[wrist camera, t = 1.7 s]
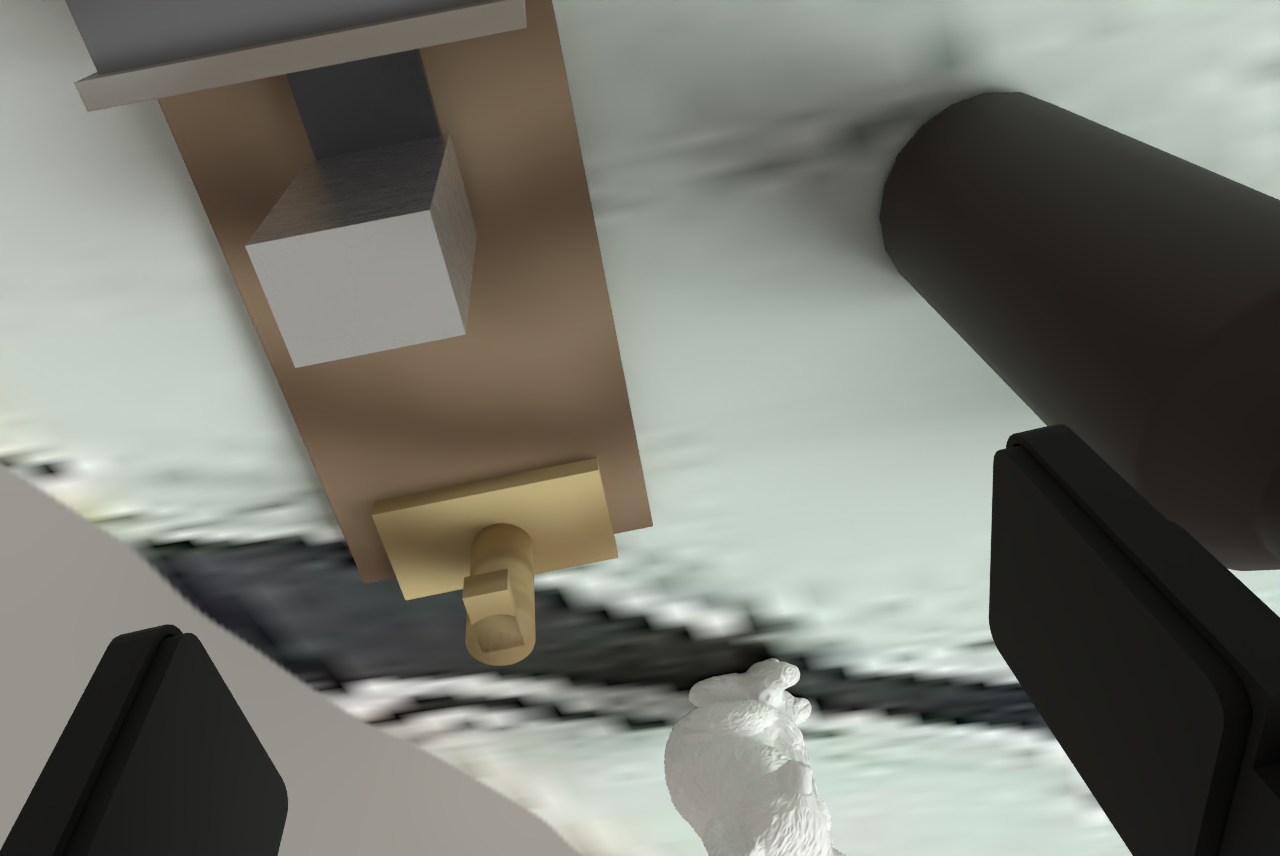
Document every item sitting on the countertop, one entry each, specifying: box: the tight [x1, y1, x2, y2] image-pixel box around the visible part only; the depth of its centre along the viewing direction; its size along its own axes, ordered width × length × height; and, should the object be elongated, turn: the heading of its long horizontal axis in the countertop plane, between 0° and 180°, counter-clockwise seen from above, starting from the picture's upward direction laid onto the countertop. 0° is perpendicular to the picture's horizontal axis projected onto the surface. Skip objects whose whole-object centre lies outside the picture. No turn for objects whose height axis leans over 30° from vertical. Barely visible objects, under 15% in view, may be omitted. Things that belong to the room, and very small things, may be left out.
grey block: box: [245, 48, 477, 368], centre depth 21 cm, size 14×4×7 cm, turn 9°
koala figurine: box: [664, 658, 846, 856], centre depth 36 cm, size 8×7×12 cm
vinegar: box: [880, 92, 1280, 571], centre depth 21 cm, size 7×7×20 cm
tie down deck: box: [65, 0, 653, 666], centre depth 25 cm, size 28×11×7 cm, turn 9°
